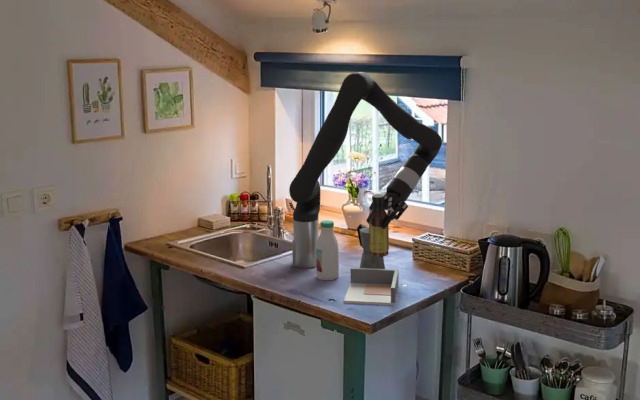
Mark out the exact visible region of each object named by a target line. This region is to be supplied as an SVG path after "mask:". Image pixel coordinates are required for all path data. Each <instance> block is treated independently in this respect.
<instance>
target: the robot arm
mask: <svg viewBox="0 0 640 400" xmlns="http://www.w3.org/2000/svg"><path fill="white" fill-rule="evenodd" d="M362 100H363V101H365V102H366V103H367V104H369V105H371V106H372V107H374V108H375V109H376V110H377V112H379V113H380V114H381V116H382V117H383V118H384V120H385V121H386V122H387V123H388V124H389V125H390V127H392V129H394V130H395V131H396V132H397V133H398V134H400V135H401V136H402V137H403V138H405V139H407V140H413V141H415V142H416V143H417V144H418V145H417V146H416V149H414V152H413V153H412V154H411V155H409V157H408V158H407V159H406V161H405V162H404V163H403V165H402V166H401V167H400V169H399V170H398V171H397V172H396V174H395V175H394V177H393V178H392V179H391V180H390V182H389V183H388V186H386V192H385V193H384V194H383V195H384V196H385V200H384V207H385V208H384V210H385V211H387V212H386V213H387V216H385V218H384V219H383V221H382V222H381V224H380V227H381V228H382V229H385V228H386V227H387V226H388V225H390V223H391V221H393V220H395V221H397V220H399V219H400V218H401V216H403V214H404V213H405V211H406V210H407V209H408V208H409V205H408V204H407V202H406V201H408V198H410V196H411V194H412V192H413V191H414V190H415V188H416V186H418V183H419V181H420V179H422V177H423V175H424V174H425V172H426V171H427V169H428V167H429V166H430V164H431V163H432V162H433V161H434V159H435V158H436V157H437V155H438V154H439V152H440V150H441V148H442V145H443V140H442V137H441V136H440V134H439V133H438V132H437V131H436V130H435V129H433V128H431V127H429V126H427V125H426V124H423V123H422V122H419V120H417V119H416V118H415V117H414V116H412V114H410V113H409V112H408V111H407V110H405V109H404V108H403V107H402V106H401V105H399V104H398V103H397V102H396V101H395V100H394V99H393V98H391V97H390V96H389V94H388V93H386V92H385V91H384V89H382V87H381V86H380V85H379V84H378V83H377V81H376V80H375V79H374V78H373V77H372V76H371V75H370V74H369V73H367V72H365V71H364V72H363V71H357V72H356V71H355V72H352V73H349V74H348V75H347V76H345V78H344V79H343V81H342V83H341V86H340V89H339V91H338V93H337V96H336V98H335V100H334V101H335V102H334V103H333V105H332V107H331V109H330V110H329V112H328V114H327V116H326V118H325V119H324V121H323V124H322V126H320V128H319V131H318V133H317V135H316V136H315V139H314V141H313V143H312V145H311V148H310V149H309V152H308V154H307V156H306V158H305V160H304V162H303V164H302V166H301V167H300V168H299V170H298V172H297V173H296V175H295V177H294V178H293V179H292V180H291V182H290V184H289V188H288V191H289V192H288V193H289V196H290V198H291V200H292V201H293V202H295V203H296V204H295V205H296V206H295V207H294V210H293V211H292V212H293V213H292V227H293V228H292V229H293V230H292V233H293V234H292V235H293V238H292V241H291V242H292V243H291V246H292V247H291V249H292V250H291V251H292V254H291V255H292V266H293V267H297V268H302V269H309V268H316V267H317V266H316V246H317V241H318V238H319V236H320V233H319V231H320V230H319V213H320V211H321V210H320V209H321V185H320V184H321V183H320V182H319V179H320V177H321V175H322V173H323V172H324V170H325V169H326V168H327V167H328V166H329V164H330V163H331V162H332V161H333V160H334V159H335V158H336V156H337V154H338V153H339V152H340V149H341V148H342V145H343V144H344V142H345V139H346V137H347V135H348V132H349V131H348V130H349V125H350V121H351V119H352V115H353V113H354V112H355V110H356V109H357V107H358V106H359V103H360V102H361V101H362ZM372 207H373V201H371V203H370V205H369V207H368V209H369V210H370V211H371V212H372ZM371 212H370V214H369V215H368V217H367V218H366V223H367V224H368V225H369V218H370V215H371Z"/></svg>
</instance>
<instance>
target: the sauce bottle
mask: <svg viewBox="0 0 640 400" xmlns="http://www.w3.org/2000/svg"><path fill="white" fill-rule="evenodd" d="M384 195H385V194H379V193H376V194H373V195H371V202H373V207H372V212H370V213H371V215H370V214H369V215H370V218H369V224H368V227H369V244H370V254H371V255H372V256H375V257H383V258H384V257H387V256H389V250H390V240H389V239H390V237H389V236H390V235H389V234H390V233H389V228H390V227H389V225H390V224H389V225H388V226H387V227H386V228H385V229H382V228H381V227H380V224H381V222H382V221H383V219H384V218H385V216H387V212H386V210H384V208H385V207H384V200H385V196H384Z"/></svg>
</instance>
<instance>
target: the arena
mask: <svg viewBox="0 0 640 400" xmlns="http://www.w3.org/2000/svg"><path fill="white" fill-rule="evenodd" d="M399 272H400V271H399V269H392V268H389V269H388V268H385V269H371V268H360V267H350V282H349V286H348V287H347V288H348V289H347V291H346V295H345V297H344V299H343V304H355V305H357V304H358V305H359V304H360V305H373V306H374V305H376V306H378V305H379V306H395V305H396V302H397V301H396V299H397V295H398V290H399V280H400V278H399V275H400V273H399Z"/></svg>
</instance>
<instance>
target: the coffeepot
mask: <svg viewBox="0 0 640 400" xmlns="http://www.w3.org/2000/svg"><path fill="white" fill-rule="evenodd" d="M356 233H357V235H358V236H357V237H358V241H359V245H360V247H361V248H362V253H361V259H360V265H359V268H371V269H386V267H385V258H384V257H375V256H372V255H371V254H370V244H369V226H367V225H363V224H362V223H360V224H359V225H358V226H357V227H356Z"/></svg>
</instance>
